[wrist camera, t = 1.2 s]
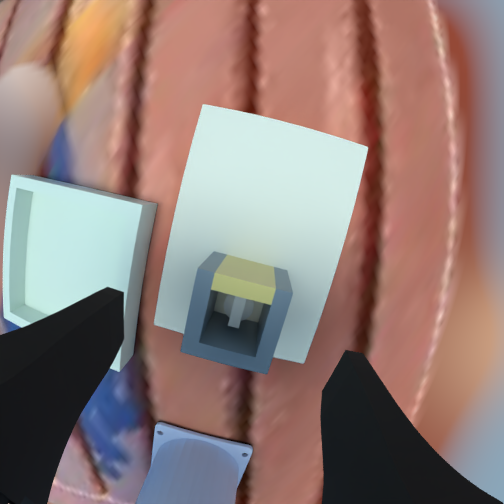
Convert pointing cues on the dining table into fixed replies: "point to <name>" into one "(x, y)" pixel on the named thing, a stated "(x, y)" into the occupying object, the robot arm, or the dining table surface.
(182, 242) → the base
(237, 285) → the collar
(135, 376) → the dining table surface
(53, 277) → the tray
